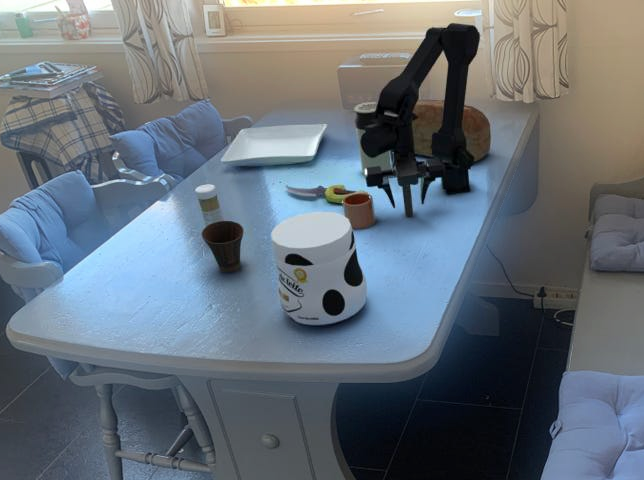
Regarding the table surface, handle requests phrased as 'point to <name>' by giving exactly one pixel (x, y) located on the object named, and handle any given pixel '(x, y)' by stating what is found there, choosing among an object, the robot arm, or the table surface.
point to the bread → (431, 121)
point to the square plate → (275, 145)
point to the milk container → (318, 269)
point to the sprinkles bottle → (209, 204)
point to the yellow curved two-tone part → (325, 192)
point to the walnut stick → (407, 201)
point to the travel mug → (361, 121)
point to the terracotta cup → (359, 210)
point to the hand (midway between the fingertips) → (408, 205)
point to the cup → (225, 243)
